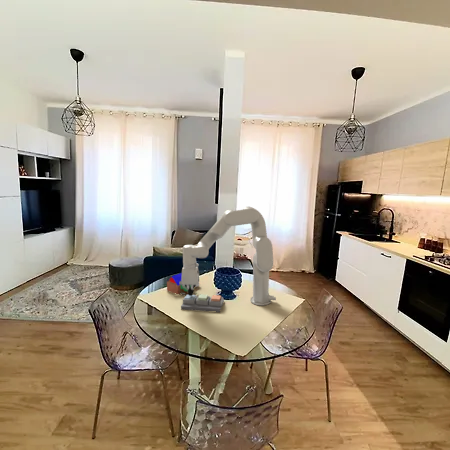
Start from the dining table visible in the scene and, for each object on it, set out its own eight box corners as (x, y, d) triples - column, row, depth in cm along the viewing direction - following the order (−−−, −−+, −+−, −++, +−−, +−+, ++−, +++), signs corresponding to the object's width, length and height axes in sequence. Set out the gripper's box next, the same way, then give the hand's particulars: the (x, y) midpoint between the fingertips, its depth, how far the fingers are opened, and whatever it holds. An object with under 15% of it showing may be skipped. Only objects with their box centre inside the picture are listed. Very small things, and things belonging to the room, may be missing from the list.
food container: (186, 298, 163) (185, 283, 161) (179, 295, 167) (179, 281, 165) (199, 291, 173) (199, 277, 171) (192, 289, 176) (192, 275, 175)
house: (166, 290, 175) (165, 274, 173) (187, 282, 191) (187, 267, 189) (178, 295, 168) (177, 278, 166) (199, 286, 183) (198, 270, 182)
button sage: (208, 298, 154) (208, 294, 154) (206, 302, 149) (206, 298, 149) (200, 298, 155) (200, 294, 155) (198, 301, 150) (197, 297, 150)
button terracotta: (221, 299, 153) (221, 295, 153) (219, 303, 148) (219, 299, 148) (212, 298, 154) (212, 295, 154) (211, 302, 149) (211, 298, 149)
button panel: (223, 301, 158) (223, 294, 157) (219, 312, 144) (219, 304, 144) (188, 299, 161) (188, 292, 161) (181, 309, 148) (180, 302, 147)
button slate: (195, 298, 156) (195, 295, 155) (193, 302, 151) (193, 298, 151) (187, 298, 157) (187, 294, 156) (185, 301, 152) (184, 298, 151)
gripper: (203, 264, 153) (204, 293, 156) (179, 263, 155) (181, 291, 158) (200, 268, 146) (201, 298, 148) (175, 267, 148) (177, 296, 151)
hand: (190, 294), depth 153 cm, fingers closed
